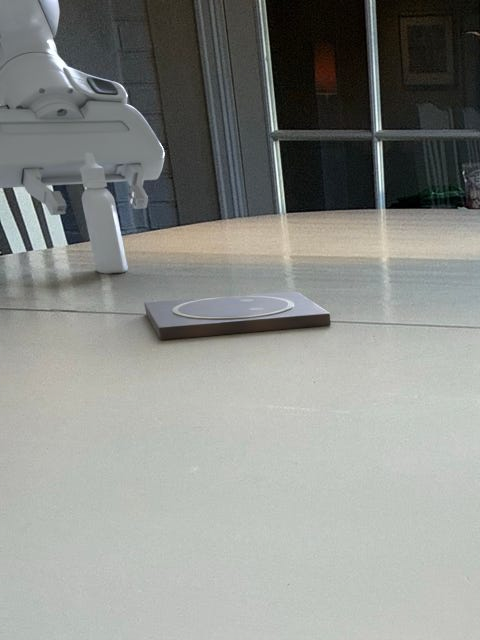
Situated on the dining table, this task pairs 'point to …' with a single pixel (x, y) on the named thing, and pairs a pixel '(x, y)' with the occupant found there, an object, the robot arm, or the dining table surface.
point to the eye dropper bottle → (102, 219)
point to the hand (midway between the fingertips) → (101, 207)
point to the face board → (234, 315)
